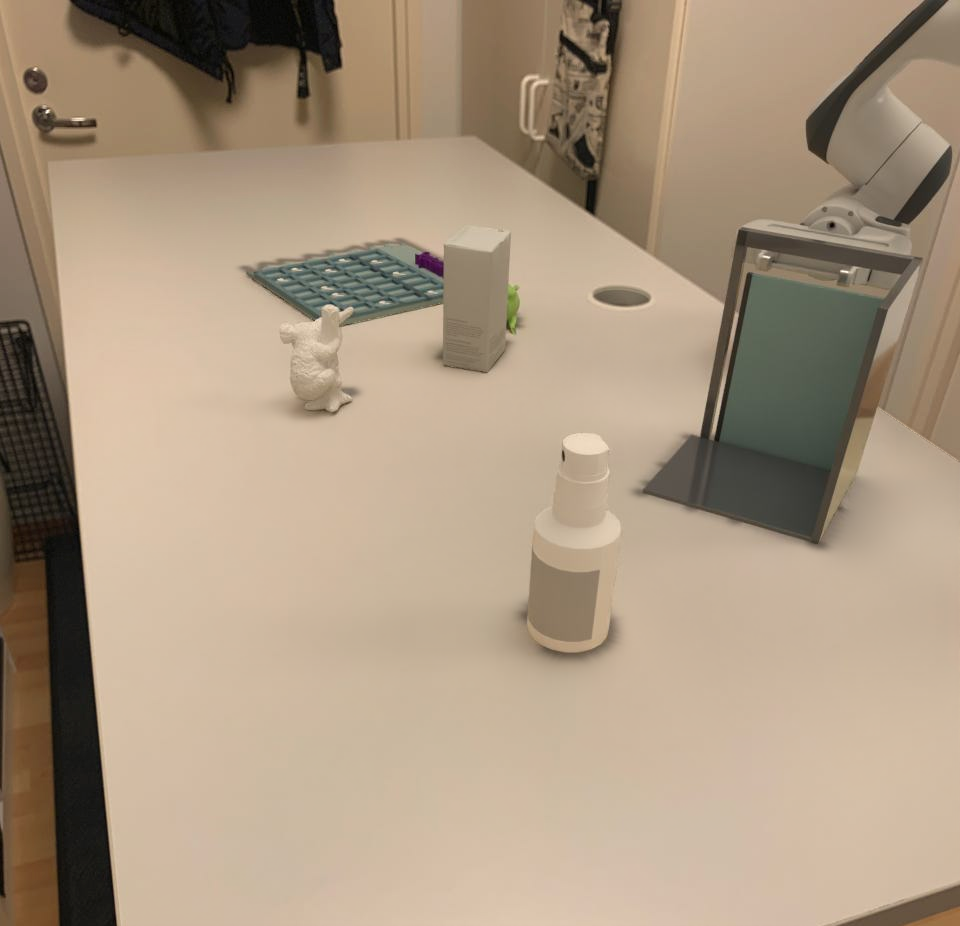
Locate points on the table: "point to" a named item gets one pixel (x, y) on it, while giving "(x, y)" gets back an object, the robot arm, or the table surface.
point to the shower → (768, 479)
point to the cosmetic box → (475, 297)
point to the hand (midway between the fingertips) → (802, 271)
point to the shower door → (794, 368)
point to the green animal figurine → (512, 306)
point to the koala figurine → (317, 359)
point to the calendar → (359, 282)
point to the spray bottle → (575, 552)
